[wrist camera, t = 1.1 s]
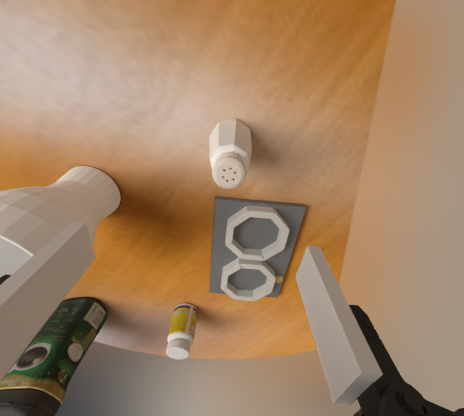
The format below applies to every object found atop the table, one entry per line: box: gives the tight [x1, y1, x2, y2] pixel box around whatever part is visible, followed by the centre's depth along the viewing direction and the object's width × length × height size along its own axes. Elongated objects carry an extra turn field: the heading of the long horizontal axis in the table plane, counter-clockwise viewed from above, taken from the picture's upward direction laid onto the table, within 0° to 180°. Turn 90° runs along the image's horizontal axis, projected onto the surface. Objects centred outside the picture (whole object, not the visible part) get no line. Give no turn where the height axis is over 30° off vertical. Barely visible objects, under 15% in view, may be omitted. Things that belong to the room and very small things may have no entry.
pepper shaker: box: [210, 119, 252, 189], centre depth 23 cm, size 5×5×11 cm
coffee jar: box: [0, 298, 107, 416], centre depth 37 cm, size 10×8×19 cm
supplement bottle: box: [166, 303, 198, 359], centre depth 41 cm, size 5×5×8 cm
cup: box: [0, 166, 121, 277], centre depth 25 cm, size 11×11×15 cm
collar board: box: [209, 197, 306, 301], centre depth 36 cm, size 20×13×2 cm, turn 175°
